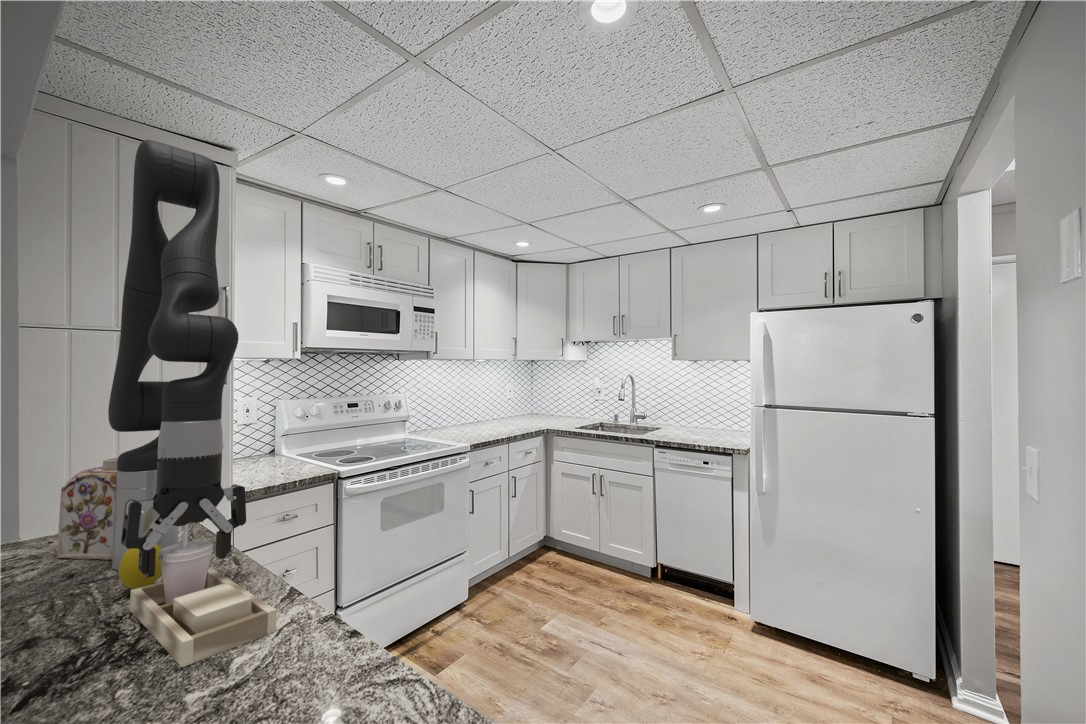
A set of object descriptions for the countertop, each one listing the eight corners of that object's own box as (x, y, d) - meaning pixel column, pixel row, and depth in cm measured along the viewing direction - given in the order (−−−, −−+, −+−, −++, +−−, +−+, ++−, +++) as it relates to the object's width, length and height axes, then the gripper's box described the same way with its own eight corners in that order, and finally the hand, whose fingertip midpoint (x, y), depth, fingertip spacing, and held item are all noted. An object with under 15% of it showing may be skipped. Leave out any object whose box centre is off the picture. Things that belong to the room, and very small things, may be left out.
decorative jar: (167, 540, 100) (171, 454, 101) (115, 561, 88) (120, 463, 89) (112, 539, 101) (116, 453, 101) (53, 559, 89) (58, 462, 90)
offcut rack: (129, 619, 67) (130, 589, 67) (211, 594, 75) (212, 568, 75) (181, 679, 54) (183, 642, 54) (275, 641, 62) (276, 609, 62)
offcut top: (173, 614, 62) (173, 598, 62) (225, 597, 66) (225, 582, 67) (196, 633, 57) (197, 616, 57) (251, 614, 62) (251, 598, 62)
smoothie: (144, 629, 64) (149, 524, 65) (171, 607, 71) (175, 511, 71) (197, 625, 66) (201, 521, 66) (219, 604, 72) (223, 509, 72)
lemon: (110, 601, 72) (113, 547, 73) (126, 587, 77) (129, 536, 78) (155, 595, 74) (158, 543, 75) (168, 582, 80) (170, 533, 80)
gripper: (235, 445, 77) (232, 547, 76) (119, 455, 66) (114, 575, 65) (255, 448, 72) (252, 558, 72) (134, 460, 61) (129, 590, 60)
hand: (186, 566), depth 68 cm, fingers open, 8 cm apart
